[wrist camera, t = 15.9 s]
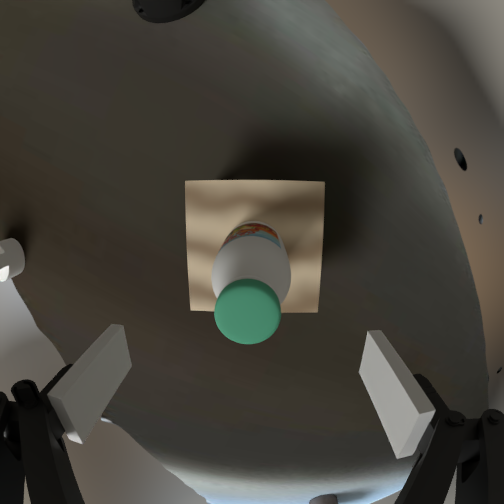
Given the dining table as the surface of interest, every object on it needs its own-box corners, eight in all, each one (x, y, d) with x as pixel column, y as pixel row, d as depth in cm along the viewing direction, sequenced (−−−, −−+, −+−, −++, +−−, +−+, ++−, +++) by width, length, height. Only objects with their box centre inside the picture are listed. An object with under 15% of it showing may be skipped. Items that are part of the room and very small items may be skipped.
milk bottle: (294, 240, 39) (327, 301, 19) (262, 287, 40) (263, 379, 21) (244, 208, 38) (227, 238, 18) (213, 257, 39) (171, 329, 20)
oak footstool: (202, 180, 49) (185, 180, 37) (309, 181, 48) (324, 181, 37) (205, 282, 53) (190, 310, 41) (305, 284, 53) (317, 312, 41)
